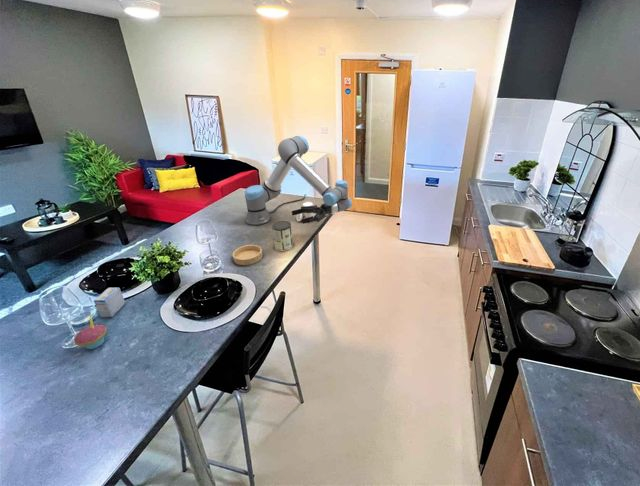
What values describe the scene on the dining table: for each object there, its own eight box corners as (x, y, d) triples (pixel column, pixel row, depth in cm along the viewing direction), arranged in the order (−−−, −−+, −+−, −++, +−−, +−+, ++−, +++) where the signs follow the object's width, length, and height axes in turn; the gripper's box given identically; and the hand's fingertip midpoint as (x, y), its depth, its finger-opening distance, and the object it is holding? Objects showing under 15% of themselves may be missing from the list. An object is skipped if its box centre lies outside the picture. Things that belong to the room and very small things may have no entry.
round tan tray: (245, 248, 163) (244, 242, 162) (267, 252, 160) (267, 247, 158) (227, 262, 151) (226, 256, 149) (251, 267, 147) (250, 261, 146)
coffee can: (281, 240, 172) (279, 219, 166) (296, 243, 169) (294, 222, 163) (270, 249, 163) (267, 227, 158) (286, 252, 160) (284, 230, 155)
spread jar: (318, 219, 199) (317, 203, 195) (306, 225, 191) (305, 209, 186) (305, 215, 205) (304, 200, 200) (293, 220, 196) (292, 205, 192)
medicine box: (115, 303, 122) (107, 287, 118) (126, 303, 122) (119, 286, 118) (100, 317, 114) (92, 300, 111) (112, 317, 115) (105, 300, 111)
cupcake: (106, 330, 109) (94, 306, 104) (114, 341, 104) (102, 316, 99) (76, 346, 102) (62, 321, 97) (83, 358, 98) (69, 333, 93)
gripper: (340, 221, 170) (308, 231, 158) (319, 207, 188) (288, 215, 176) (340, 209, 167) (307, 219, 155) (318, 196, 185) (287, 204, 173)
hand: (297, 217), depth 165 cm, fingers open, 13 cm apart
